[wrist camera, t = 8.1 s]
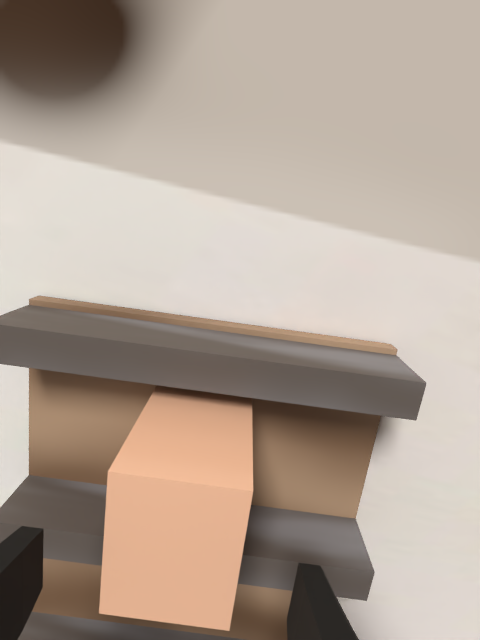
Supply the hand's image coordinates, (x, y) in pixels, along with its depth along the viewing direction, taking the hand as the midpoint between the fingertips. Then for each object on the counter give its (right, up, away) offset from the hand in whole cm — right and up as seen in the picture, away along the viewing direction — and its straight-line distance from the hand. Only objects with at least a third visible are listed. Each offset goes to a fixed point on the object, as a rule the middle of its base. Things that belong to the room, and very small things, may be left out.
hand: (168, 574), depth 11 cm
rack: (0, -2, +9) cm, 9 cm away
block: (0, +2, +7) cm, 7 cm away
